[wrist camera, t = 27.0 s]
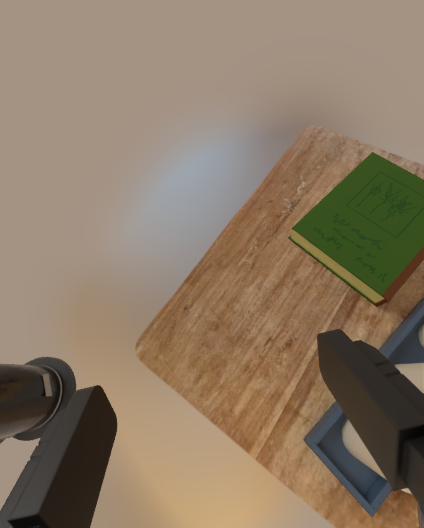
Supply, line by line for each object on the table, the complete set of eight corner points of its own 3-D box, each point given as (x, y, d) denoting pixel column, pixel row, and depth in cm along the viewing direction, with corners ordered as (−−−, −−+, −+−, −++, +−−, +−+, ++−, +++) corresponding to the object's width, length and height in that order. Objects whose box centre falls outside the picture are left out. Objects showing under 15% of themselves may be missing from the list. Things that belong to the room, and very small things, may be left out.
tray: (362, 506, 32) (372, 517, 30) (303, 439, 36) (307, 444, 33) (482, 343, 38) (498, 341, 36) (421, 299, 42) (432, 294, 39)
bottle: (368, 472, 33) (450, 534, 20) (332, 434, 35) (386, 469, 22) (393, 439, 34) (485, 478, 21) (357, 404, 36) (422, 420, 23)
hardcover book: (376, 306, 42) (389, 300, 38) (288, 238, 48) (292, 227, 45) (455, 214, 47) (472, 202, 44) (365, 164, 54) (374, 150, 50)
